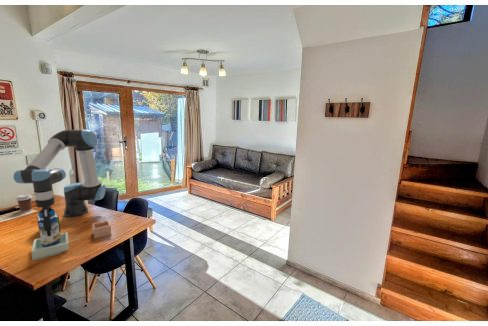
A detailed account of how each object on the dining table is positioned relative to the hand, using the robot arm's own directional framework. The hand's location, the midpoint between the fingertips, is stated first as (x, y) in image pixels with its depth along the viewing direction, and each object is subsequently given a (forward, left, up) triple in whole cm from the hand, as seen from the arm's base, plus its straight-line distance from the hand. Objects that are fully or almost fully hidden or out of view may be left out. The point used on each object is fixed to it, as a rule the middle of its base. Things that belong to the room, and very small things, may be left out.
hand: (50, 237), depth 128 cm
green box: (0, 0, -7) cm, 7 cm away
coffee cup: (-81, -18, -7) cm, 83 cm away
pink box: (-3, +24, -7) cm, 26 cm away
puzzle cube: (-28, -2, -7) cm, 29 cm away
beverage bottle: (0, 0, -4) cm, 4 cm away
